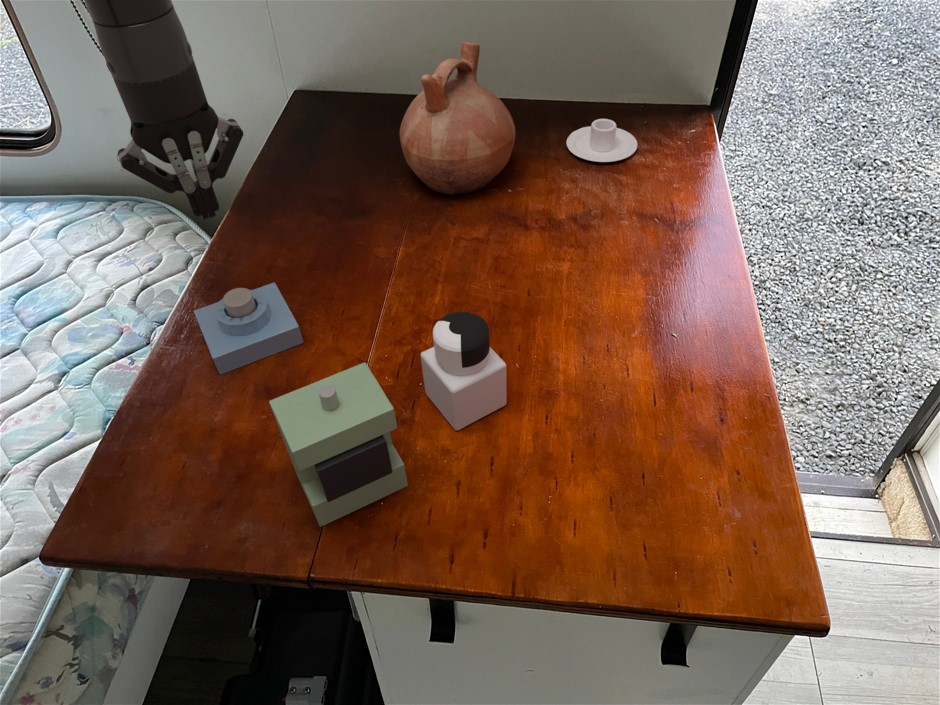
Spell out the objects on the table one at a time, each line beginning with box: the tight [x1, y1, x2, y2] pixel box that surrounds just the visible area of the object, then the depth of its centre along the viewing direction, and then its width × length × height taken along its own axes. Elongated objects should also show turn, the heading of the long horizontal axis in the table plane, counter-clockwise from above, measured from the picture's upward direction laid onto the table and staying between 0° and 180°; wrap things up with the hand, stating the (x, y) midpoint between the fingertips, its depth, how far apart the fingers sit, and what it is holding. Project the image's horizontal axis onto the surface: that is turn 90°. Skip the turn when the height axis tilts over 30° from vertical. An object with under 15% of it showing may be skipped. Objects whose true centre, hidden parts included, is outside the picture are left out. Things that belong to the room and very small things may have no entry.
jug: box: [399, 41, 516, 195], centre depth 110 cm, size 18×18×20 cm
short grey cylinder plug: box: [222, 287, 256, 318], centre depth 89 cm, size 4×4×2 cm
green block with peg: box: [268, 362, 409, 528], centre depth 71 cm, size 10×7×15 cm
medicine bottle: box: [420, 311, 508, 432], centre depth 79 cm, size 7×7×12 cm
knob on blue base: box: [193, 281, 305, 376], centre depth 91 cm, size 11×10×5 cm
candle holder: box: [565, 118, 638, 163], centre depth 120 cm, size 12×12×4 cm
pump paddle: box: [314, 435, 393, 502], centre depth 69 cm, size 7×1×5 cm, turn 119°
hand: (207, 214), depth 79 cm, fingers closed
